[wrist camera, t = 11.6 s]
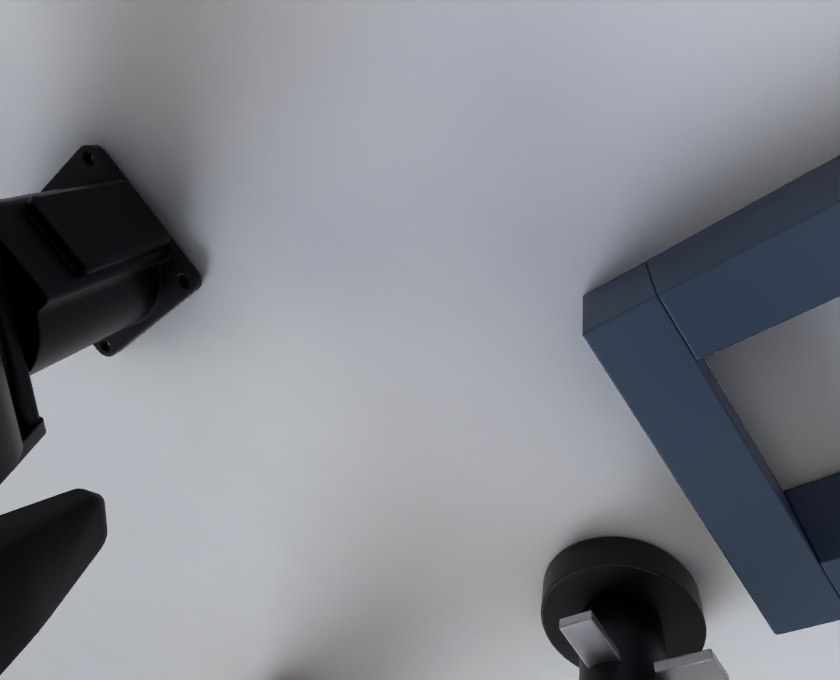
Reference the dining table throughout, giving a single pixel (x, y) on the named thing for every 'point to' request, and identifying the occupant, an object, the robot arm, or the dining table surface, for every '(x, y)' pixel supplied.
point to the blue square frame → (704, 399)
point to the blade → (626, 613)
